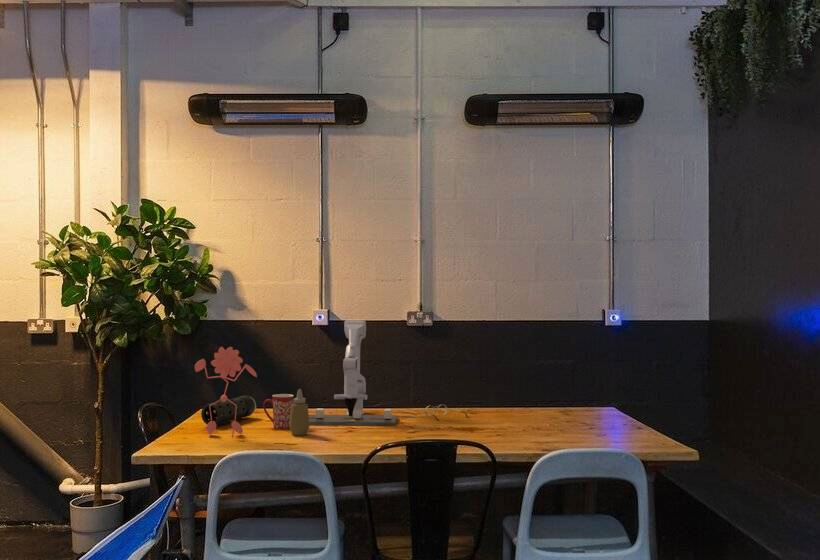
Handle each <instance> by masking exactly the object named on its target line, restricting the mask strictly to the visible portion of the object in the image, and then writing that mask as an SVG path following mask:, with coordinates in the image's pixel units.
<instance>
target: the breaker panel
mask: <svg viewBox="0 0 820 560" xmlns="http://www.w3.org/2000/svg"><path fill="white" fill-rule="evenodd" d="M397 420H398V415H396V414H395V415H394V414H392V417H391V419H384V414H382V415H381V414H380V415H379V414H378V415H377V414H373V415H372V414H363V415H361V418H353V416H349V415H345V414H324V417H323V418H316V414H309V424H310V426H350V427H351V426H355V427H356V426H358V427H361V426H363V427H364V426H365V427H366V426H370V427H373V426H376V427H395V425H396V423H397Z"/></svg>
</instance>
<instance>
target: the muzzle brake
mask: <svg viewBox="0 0 820 560" xmlns="http://www.w3.org/2000/svg"><path fill="white" fill-rule="evenodd" d="M229 400H230V401H231V402H233V403H234V404H236V405H234V404H233V403H231V402H230V401H228V400H227V401H225V402H223V401H221V400H220V401H218V402H216V401H215V402H216V403H215V402H212V403H208V404H205V405H204V406H203V407H202V409H201V413H200V415H201V419H202V421H203V423H205V425H206V426H207V425H208V423H209V422H211V416H212V421H214V422H215V423H216V427H217V426H222V425H225V424H227V423H228V424H229V423H230V422H233V421H235V411H236V422H238V421H242V420H243V418H247V417H250V416H252V414H254V412H255V411H256V409H257V404H256V403H257V402H256V400H255V399H254V398H253V397H252V396H250V395H241V396H237V397H236V398H230V399H229ZM213 403H215V404H213ZM211 404H213V405H211ZM210 405H211V406H210ZM209 406H210V408H209ZM236 406H237V410H236ZM210 409H211V416H210Z"/></svg>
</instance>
